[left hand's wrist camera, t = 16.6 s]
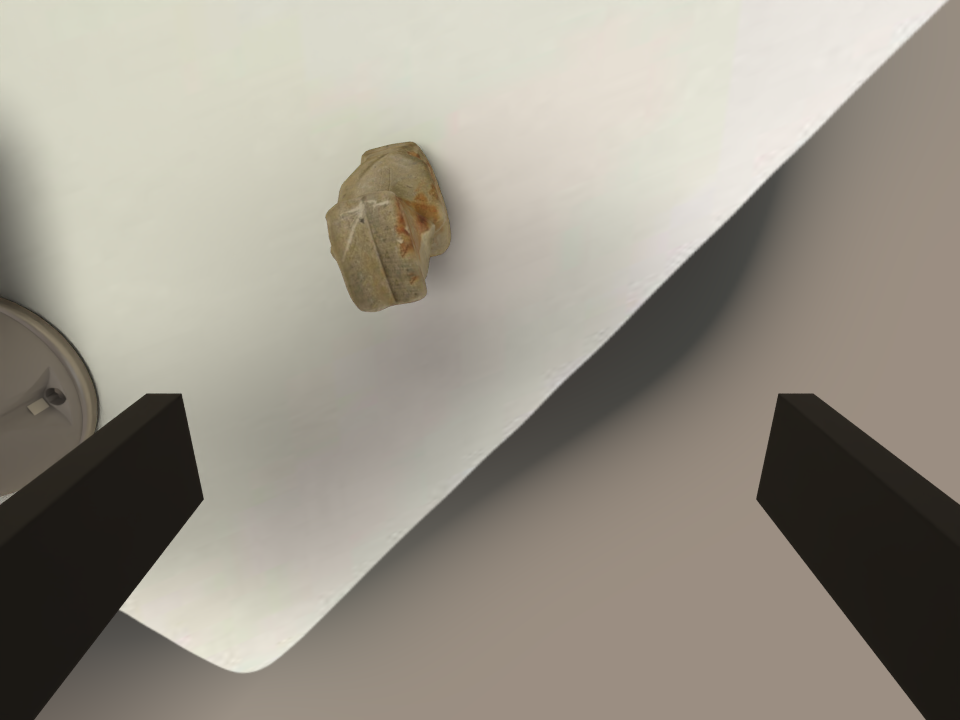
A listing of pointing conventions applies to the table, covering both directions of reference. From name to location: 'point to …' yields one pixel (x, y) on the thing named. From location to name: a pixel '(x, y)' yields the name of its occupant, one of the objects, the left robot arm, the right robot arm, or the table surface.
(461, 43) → the table surface
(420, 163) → the sculpture
